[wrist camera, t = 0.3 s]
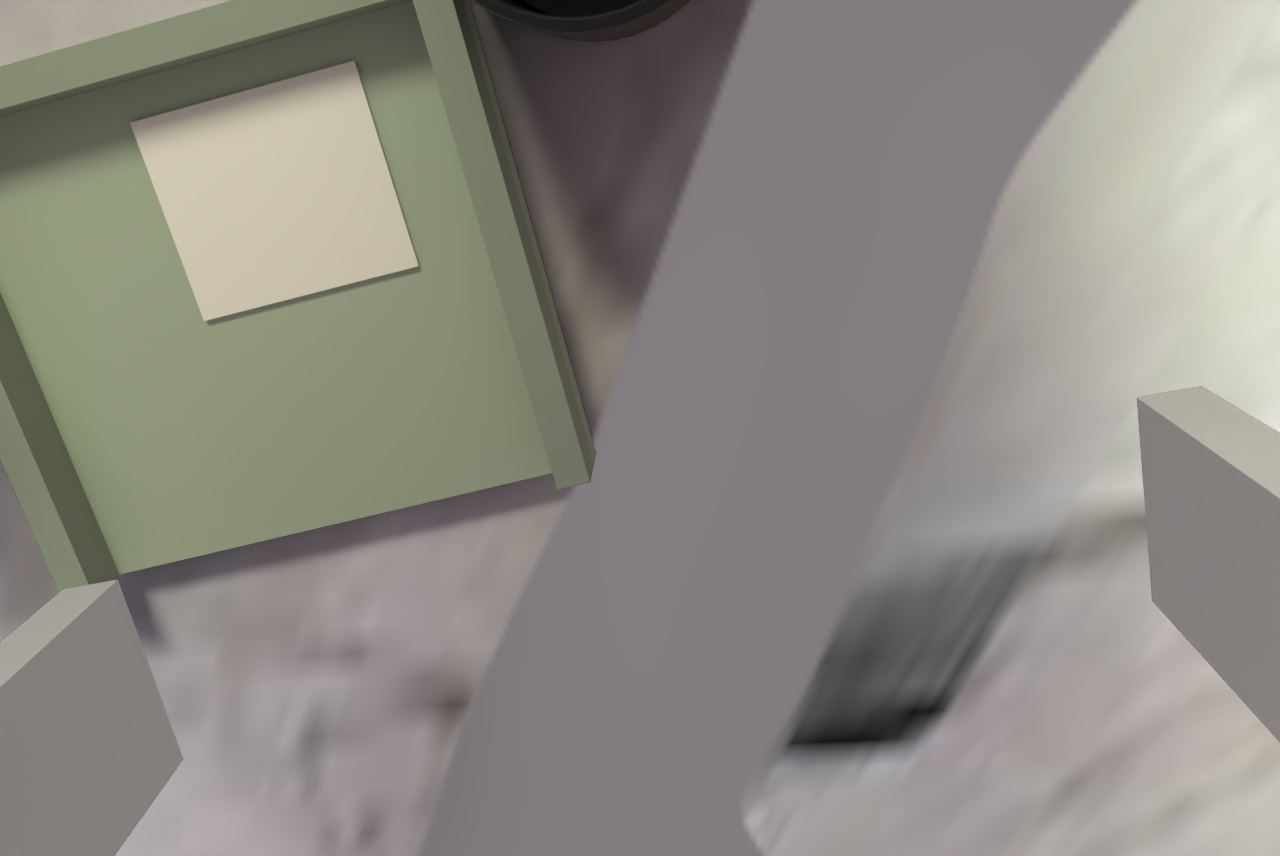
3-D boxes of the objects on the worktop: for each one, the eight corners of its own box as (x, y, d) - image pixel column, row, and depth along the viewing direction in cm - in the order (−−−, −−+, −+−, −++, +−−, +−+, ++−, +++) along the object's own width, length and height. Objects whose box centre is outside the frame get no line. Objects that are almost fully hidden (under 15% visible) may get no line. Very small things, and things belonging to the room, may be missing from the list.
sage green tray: (-91, 108, 40) (-154, 110, 37) (454, -48, 38) (436, -58, 35) (105, 568, 45) (63, 604, 42) (596, 453, 43) (590, 482, 40)
